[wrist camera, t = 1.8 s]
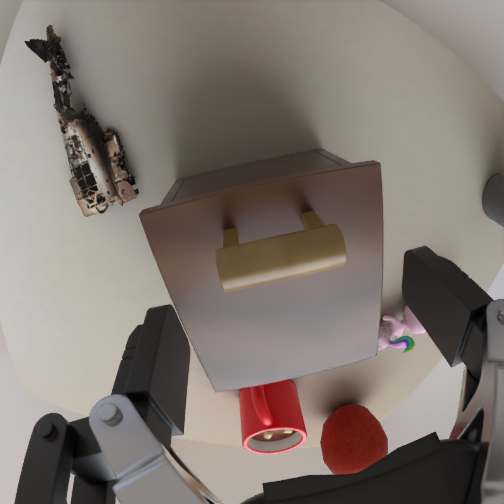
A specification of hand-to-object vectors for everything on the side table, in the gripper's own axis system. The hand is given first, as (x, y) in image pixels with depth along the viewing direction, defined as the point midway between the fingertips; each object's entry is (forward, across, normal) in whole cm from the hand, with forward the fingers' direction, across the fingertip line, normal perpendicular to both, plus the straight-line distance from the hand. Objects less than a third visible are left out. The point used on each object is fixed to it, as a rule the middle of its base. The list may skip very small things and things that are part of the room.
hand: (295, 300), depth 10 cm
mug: (+17, +4, +26) cm, 32 cm away
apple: (+17, -7, +38) cm, 43 cm away
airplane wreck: (+17, +12, -9) cm, 23 cm away
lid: (+7, 0, +5) cm, 9 cm away
